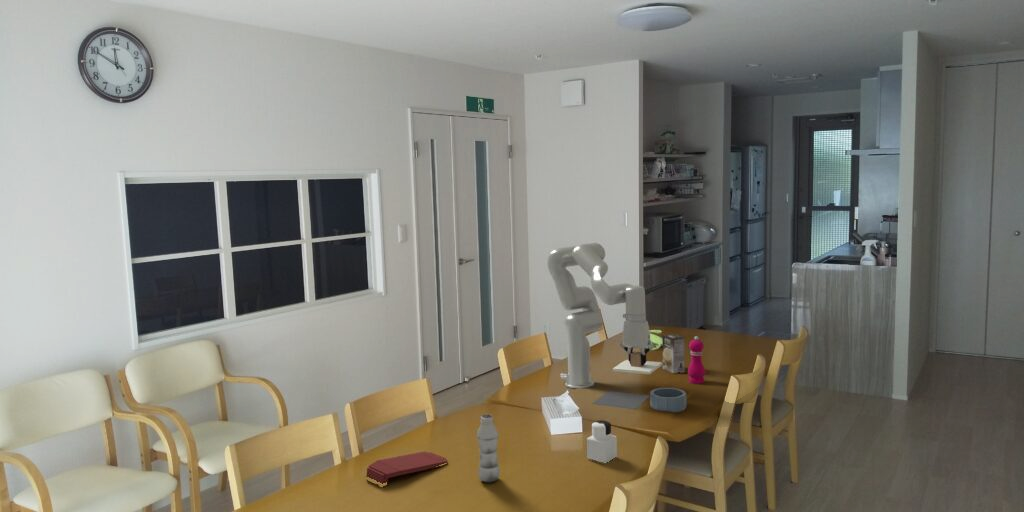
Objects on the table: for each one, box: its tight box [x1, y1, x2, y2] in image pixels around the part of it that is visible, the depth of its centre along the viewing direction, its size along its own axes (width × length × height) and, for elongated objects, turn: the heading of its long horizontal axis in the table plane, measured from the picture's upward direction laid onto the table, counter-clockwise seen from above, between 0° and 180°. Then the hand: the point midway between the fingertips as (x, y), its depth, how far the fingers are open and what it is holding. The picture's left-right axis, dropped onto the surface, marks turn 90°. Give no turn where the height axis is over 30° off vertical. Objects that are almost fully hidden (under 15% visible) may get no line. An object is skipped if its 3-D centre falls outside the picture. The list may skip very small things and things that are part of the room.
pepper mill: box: [687, 335, 706, 385], centre depth 308 cm, size 7×7×20 cm
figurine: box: [646, 329, 663, 351], centre depth 379 cm, size 18×27×6 cm
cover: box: [612, 350, 663, 375], centre depth 282 cm, size 15×15×6 cm
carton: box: [366, 451, 448, 484], centre depth 227 cm, size 12×5×25 cm
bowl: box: [649, 387, 687, 413], centre depth 278 cm, size 13×13×6 cm
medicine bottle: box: [586, 419, 618, 464], centre depth 230 cm, size 7×7×12 cm
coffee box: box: [661, 333, 685, 374], centre depth 327 cm, size 9×6×16 cm
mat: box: [591, 390, 650, 410], centre depth 287 cm, size 18×18×1 cm
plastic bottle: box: [476, 413, 501, 483], centre depth 216 cm, size 6×7×20 cm
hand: (637, 363), depth 282 cm, fingers closed on cover, 4 cm apart
